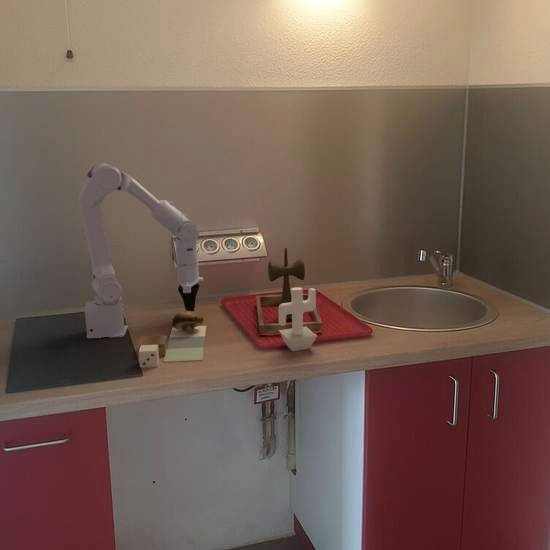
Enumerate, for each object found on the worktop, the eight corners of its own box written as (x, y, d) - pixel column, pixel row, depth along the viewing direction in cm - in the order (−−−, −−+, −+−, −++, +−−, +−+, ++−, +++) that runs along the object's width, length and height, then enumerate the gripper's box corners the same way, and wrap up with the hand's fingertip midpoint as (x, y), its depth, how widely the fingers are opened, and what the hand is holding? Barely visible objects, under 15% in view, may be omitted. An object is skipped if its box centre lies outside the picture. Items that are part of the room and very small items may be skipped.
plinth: (140, 356, 164) (139, 345, 163) (143, 347, 170) (142, 336, 169) (165, 355, 165) (164, 344, 164) (167, 346, 170) (166, 335, 170)
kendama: (306, 320, 187) (305, 248, 182) (271, 323, 186) (269, 251, 180) (301, 313, 193) (301, 244, 188) (268, 316, 191) (266, 246, 186)
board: (163, 362, 161) (163, 361, 161) (172, 327, 184) (172, 327, 184) (202, 360, 161) (202, 359, 161) (206, 326, 184) (206, 325, 184)
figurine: (274, 344, 170) (273, 286, 166) (310, 339, 173) (309, 282, 169) (284, 355, 163) (283, 294, 159) (321, 349, 166) (321, 289, 162)
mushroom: (196, 327, 173) (191, 304, 176) (169, 337, 176) (164, 314, 178) (210, 332, 181) (206, 310, 183) (184, 341, 183) (180, 319, 185)
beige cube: (142, 361, 162) (140, 368, 158) (140, 345, 161) (138, 351, 157) (159, 360, 162) (157, 367, 158) (158, 344, 161) (156, 350, 157)
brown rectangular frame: (259, 335, 176) (259, 325, 176) (256, 305, 201) (256, 296, 201) (321, 333, 177) (321, 322, 176) (310, 302, 202) (310, 293, 201)
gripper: (201, 269, 179) (203, 318, 182) (203, 256, 193) (205, 302, 196) (173, 270, 178) (177, 319, 182) (178, 257, 192) (181, 303, 196)
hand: (190, 310), depth 189 cm, fingers closed
